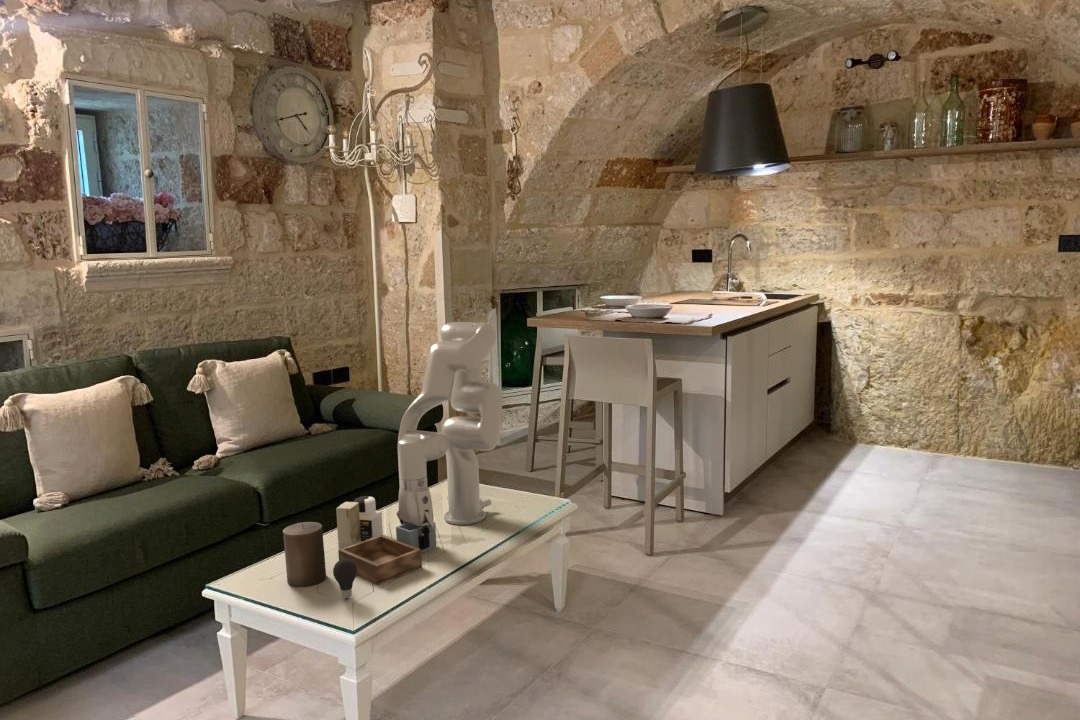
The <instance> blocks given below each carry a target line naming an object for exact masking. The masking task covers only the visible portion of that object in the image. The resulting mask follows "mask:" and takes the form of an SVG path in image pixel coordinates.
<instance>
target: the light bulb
mask: <svg viewBox="0 0 1080 720" xmlns="http://www.w3.org/2000/svg"><path fill="white" fill-rule="evenodd" d="M332 574H333V577H334V579H335V581H336V582H337V583H338V585H339V589H340V591H341V592H340V594H341V598H343V599H344V600H345V601H346V600H349V598H351V597H352V595H353V592H352V591H353V590H352V588H353V585H354V581H355V579H356V577H357V576H356V574H357V567H356V564H355V563H354V562H353V561H352V560H350V559H341V560H339V559H338V561H337V562H336V563H335V564H334V566H333V569H332Z"/></svg>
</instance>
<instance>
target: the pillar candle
mask: <svg viewBox="0 0 1080 720" xmlns="http://www.w3.org/2000/svg"><path fill="white" fill-rule="evenodd" d="M282 534H283V544H284V546H283V547H284V557H285V559H284V560H285V569H286V581H287V584H288V585H290V586H291V587H292V586H293V587H311V586H315V585H317V584H319V583H322V582H324V581H326V580H325V579H326V578H327V570H326V567H327V566H326V557H325V546H324V545H325V544H324V533H323V525H322V524H321V523H319V522H315V521H305V522H297V523H294V524H291V525H288V526H286V527H285V528H284V529H283V530H282Z"/></svg>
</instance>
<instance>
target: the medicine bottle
mask: <svg viewBox="0 0 1080 720" xmlns="http://www.w3.org/2000/svg"><path fill="white" fill-rule="evenodd" d="M353 502H359V515H360V532H361V542H362V541H365V540H368V539H371V538H374V537H377V536H380V535H384V529H383V528H384V527H383V515H382V511H381V510H377V509H376V506H377V505H376V499H375V497H373V496H369V495H362V496H359V497H357V498H355V499H354V500H353Z"/></svg>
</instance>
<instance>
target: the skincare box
mask: <svg viewBox="0 0 1080 720" xmlns="http://www.w3.org/2000/svg"><path fill="white" fill-rule="evenodd" d="M335 511H336V526H337V540H338V541H337V542H338V543H337V544H338V546H337V547H338V550H339V549H342V548H345V547H348V546H351V545H354V544H356V543H359V542H361V532H360V515H359V502H354V501H344V502H343V503H341V504H340V505H338V506H337V507H336V508H335Z"/></svg>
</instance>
